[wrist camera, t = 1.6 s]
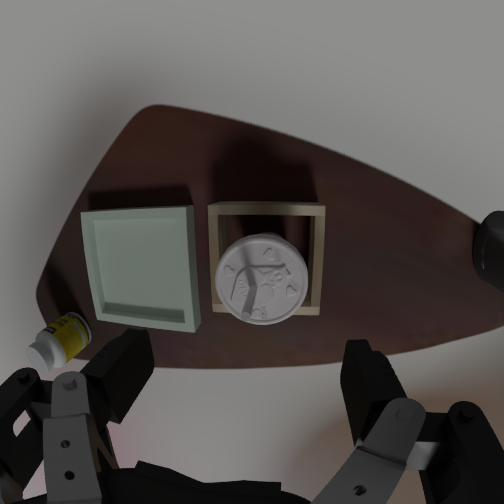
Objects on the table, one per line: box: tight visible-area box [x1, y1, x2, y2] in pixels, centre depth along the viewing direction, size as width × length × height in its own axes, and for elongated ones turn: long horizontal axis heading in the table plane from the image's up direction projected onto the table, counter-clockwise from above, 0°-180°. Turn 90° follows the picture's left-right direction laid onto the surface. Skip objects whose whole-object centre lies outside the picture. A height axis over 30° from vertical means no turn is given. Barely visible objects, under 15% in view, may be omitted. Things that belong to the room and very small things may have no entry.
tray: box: [81, 205, 201, 332], centre depth 29 cm, size 13×13×2 cm
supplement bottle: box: [27, 312, 91, 374], centre depth 29 cm, size 5×5×10 cm
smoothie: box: [215, 232, 308, 325], centre depth 21 cm, size 6×6×14 cm
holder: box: [208, 201, 325, 315], centre depth 26 cm, size 10×10×4 cm
